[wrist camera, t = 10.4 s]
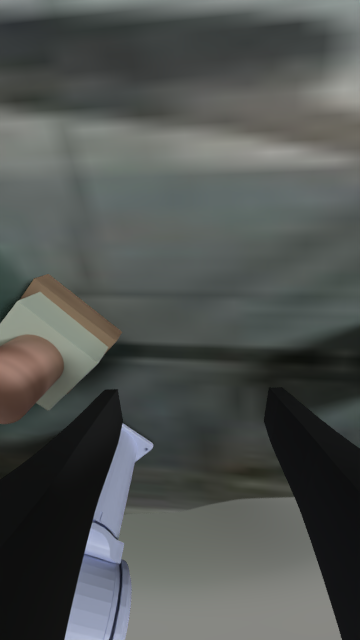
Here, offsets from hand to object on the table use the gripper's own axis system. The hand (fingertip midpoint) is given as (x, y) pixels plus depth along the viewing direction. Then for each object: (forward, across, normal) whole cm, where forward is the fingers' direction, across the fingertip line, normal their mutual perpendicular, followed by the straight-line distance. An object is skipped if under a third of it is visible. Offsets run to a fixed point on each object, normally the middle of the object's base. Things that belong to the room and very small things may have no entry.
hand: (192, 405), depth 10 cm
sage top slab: (+8, +12, +1) cm, 15 cm away
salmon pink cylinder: (+6, +12, +1) cm, 13 cm away
